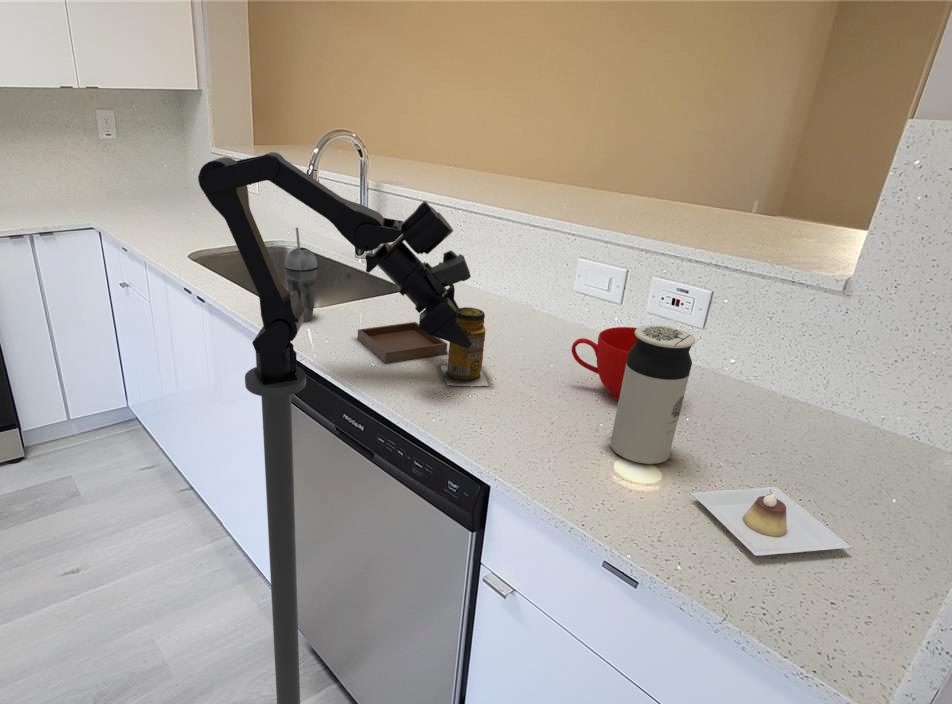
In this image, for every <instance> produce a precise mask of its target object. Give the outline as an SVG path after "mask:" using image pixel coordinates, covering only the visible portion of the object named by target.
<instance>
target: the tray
mask: <svg viewBox="0 0 952 704" xmlns="http://www.w3.org/2000/svg"><path fill="white" fill-rule="evenodd" d="M357 340H358V341H359V342H361V343H362V344H363V345H364V346H365V347H366V349H368V350H369V351H370V352H372V353H373V354H374V355H375V356H377V357H378V358H379V359H380V360H381V362H383V363H384V364H389V363H390V364H391V363H397V362H403V361H409V360H414V359H420V358H427V357H433V356H439V355H446V354H448V343H447V341H445V340H443V339H440V338H437V337H434V336H433V337H431V336H426V335H425V334H424V333H423V332H422V331H421V330H420V329H419V322H417V321H410V322H404V323H397V324H396V323H395V324H388V325H381V326H374V327H373V326H372V327H368V328H361V329H357Z"/></svg>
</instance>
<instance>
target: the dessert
mask: <svg viewBox="0 0 952 704" xmlns="http://www.w3.org/2000/svg"><path fill="white" fill-rule="evenodd" d="M691 495H692V496H693V497H695V499H696V500H697V501H698V502H699V503H700V504H701V505H702V506H703V507H704V508H705V509H707V510H708V511H709V512H710V513H711V515H713V516H714V518H716V519H717V520H718V521H719V522H720V523H721V524H722V525H723V526H724V527H725V528H726V529H727V530H728V531H729V532H730V533H731V534H732V535H733V536H734V537H735V538H736V539H738V541H739V542H741V544H743V546H744V547H745V548H746V549H748V551H750V553H751V554H753V555H754V556H756V557H758V556H771V555H780V554H781V555H783V554H794V553H796V554H797V553H803V552H804V553H805V552H818V551H829V550H840V549H850V548H852V547H851V545H849V544H848V543H847V542H846V541H844V539H842V538H841V537H840V536H838V535H837V534H835V532H834V531H832V530H831V529H829V528H828V527H827V526H826V525H825V524H823V523H822V522H821V521H819V519H817V518H816V517H814V516H813V515H812V514H811V513H809V512H808V511H807V510H806V509H805V508H803V507H802V506H801V505H800V504H798V503H797V502H796V501H795V500H793V499H792V498H791V497H790V496H788V495H787V494H786V493H785V492H783V491H782V490H781V489H779V487H777V486H769V487H768V486H767V487H755V488H754V487H753V488H739V489H725V490H724V489H723V490H709V491H694V492H691Z"/></svg>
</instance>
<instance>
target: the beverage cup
mask: <svg viewBox="0 0 952 704" xmlns="http://www.w3.org/2000/svg"><path fill="white" fill-rule="evenodd" d="M299 233H300V232H299V227H295V236H296V245H297V248H293V249H292V250H290V252H289V253H288V254H287V255H286V257H285V260H284V265H283V268H284V273H285V276H286V282H287V288H288V290H287V291H288V292H289V293H291V292H293V291H294V290H296V291H297V293H298V297H299V301H300V303H301V305H302V306H303V307H304V308H305V311H304V312H303V316H304V320H303V323H304V322H305V323H306V322H309V321H312V320H313V315H314V310H315V309H314V308H315V296H316V295H315V293H316V281H317V276H318V272H319V271H318V270H319V265H318V259H317V257H316V255H315V253H313V252H312V251H311V249H308V248H306V247H301V241H300V234H299Z"/></svg>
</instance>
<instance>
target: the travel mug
mask: <svg viewBox="0 0 952 704" xmlns="http://www.w3.org/2000/svg"><path fill="white" fill-rule="evenodd" d="M636 328H637V329H636V330H635V335H636V344H635V345H634V346H633V347H632V348H631V349H630V350H629V353H628V358H627V363H626V368H625V372H624V377H623V382H622V387H621V392H620V397H619V400H618V404H617V407H616V411H615V412H616V413H615V418H614V421H613V428H612V432H611V437H610V443H609V445H610V448H611V449H612V451H613V452H614V453H615V454H617V455H619V456H620V457H622V458H624V459H627V460H629V461H631V462H633V463H634V462H635V463H638V464H644V465H645V464H647V465H650V464H651V465H654V464H660V463H664V462H666V461H667V460H668V459H669V458H670V454H671V451H672V445H673V442H674V438H675V433H676V430H677V426H678V421H679V419H680V413H681V409H682V405H683V401H684V397H685V393H686V389H687V385H688V382H689V377H690V374H691V369H692V366H693V360H692V358H691V355H690V351H691V348H692V346H694V345H695V343H696V338H695V337H694V335H692V334H691V333H690V332H687V331H685V330H683V329H679V328H677V327H672V326H666V325H657V324H651V325H650V324H649V325H642V326H641V325H640V326H639V327H636Z"/></svg>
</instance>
